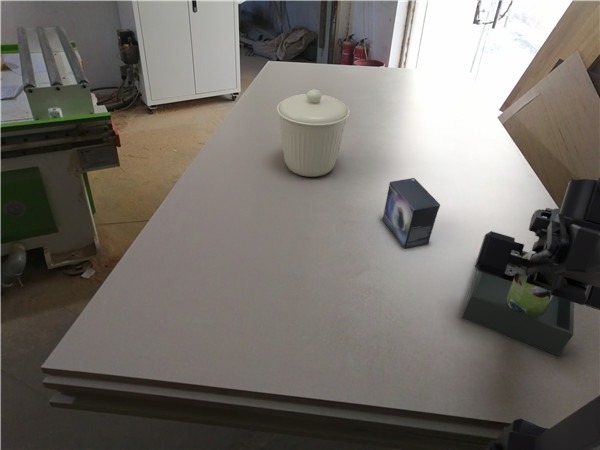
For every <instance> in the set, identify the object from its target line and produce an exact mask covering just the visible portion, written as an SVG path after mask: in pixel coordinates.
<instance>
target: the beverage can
mask: <svg viewBox="0 0 600 450" xmlns="http://www.w3.org/2000/svg"><path fill="white" fill-rule="evenodd" d="M527 252H528V253H527V254H525V255H524V256H523V257H522V258H525V259H528V260H529V259H530V257H531V254H533V253H534V254H535V252H534V251H532V249H531V250H530V251H527ZM518 267H519V268H520V267H521V269H522V268H524V270H525V269H527V268H526V267H523V266H518ZM527 277H528V276H524V275H521V274H518V273H516V274H515V277H514V280H513V282H512V285H511V288H510V291H509V293H508V296H507V304H508V306H509V307H510V308H511V309H514V310H516V311H519V312H521V313H524V314H527V315H529V316H532V317H535V318H538V317H541V316H542V315H543V314H544V313H545V311H546V309H547V307H548V305H549V303H550V301H551V299H552V297H553V296H552V295H551V294H550V292H551V291H550V290H546V289H543V288H540V287H537V286H534V285H531V284H528V283H526V280H527Z"/></svg>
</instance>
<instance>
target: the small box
mask: <svg viewBox="0 0 600 450" xmlns="http://www.w3.org/2000/svg"><path fill="white" fill-rule="evenodd" d="M387 190H388V191H387V195H386V200H385V205H384V210H383V215H382V222H384V224H385V225H386V227H387V228H388V229H389V231H390V232H391V233H392V234H393V236H394V237H395V238H396V240H397V241H398V243H399V244H400V245H401V247H402V248H403V249H409V248H414V247H419V246H424V245H430V244H429V243H430V239H431V236H432V232H433V229H434V226H435V223H436V219H437V215H438V213H439V210H440V207H441V203H440V202H439V201H438V200H437V199H435V198H434V196H432V194H431V193H429V191H428V190H427V189H426V187H424V186H423V185H422V183H420V182H419V181H418V180H417V179H416V178H415V177H411V178H405V179H404V178H403V179H399V180H392V181H389V184H388V189H387Z"/></svg>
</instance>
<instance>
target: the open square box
mask: <svg viewBox="0 0 600 450" xmlns="http://www.w3.org/2000/svg"><path fill="white" fill-rule="evenodd" d="M528 252H529V251H525V250H523V251H522V254H521V256H522V257H523V256H524V255H525V254H527V253H528ZM522 257H521V258H522ZM474 273H475V274H474V276H473V280H472V283H471V287H470V289H469V293H468V296H467V299H466V303H465V306H464V309H463V312H462V315H461V318H462V319H466V320H467V321H470V322H472V323H475V324H477V325H480V326H482V327H484V328H487V329H489V330H491V331H495V332H497V333H500V334H502V335H505V336H507V337H510V338H512V339H514V340H517V341H519V342H521V343H524V344H526V345H529V346H532V347H534V348H537V349H539V350H542V351H544V352H546V353H549V354H552V355H554V356H556V357H559V355H560V354H561V353H562V351H563V350H564V348H565V347H566V345H567V344H568V343H569V341H570V340H571V339H572V338H573V336H574V321H575V303H574V302H571V301H568V300H565V299H562V298H558V297H555V296H553V297H552V299H551V301H550V303H549V305H548V307H547V309H546V311H545V313H544V314H543V315H542V316H541V317H538V318H535V317H532V316H529V315H527V314H524V313H521V312H519V311H516V310H514V309H511V308H510V307H509V306H508V304H507V296H508V293H509V291H510V288H511V285H512V281H508V280H505V279H502V278H499V277H496V276H492V275H489V274H486V273H483V272H480V271H477V269H476V270H475V272H474ZM514 277H515V276H514ZM513 280H514V279H513Z"/></svg>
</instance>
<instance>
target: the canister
mask: <svg viewBox="0 0 600 450" xmlns="http://www.w3.org/2000/svg"><path fill="white" fill-rule="evenodd" d="M276 113H277V114H278V116H279V124H280V134H281V144H282V150H283V157H284V163H285V165H286V166H287V168H288V169H289V170H290V171H291V172H292V173H294V174H296V175H299V176H302V177H307V178H308V177H310V178H315V177H320V176H321V177H322V176H325V175H326V174H328V173H330V172H331V171H332V170H333V169H334V167H335V166H336V163H337V160H338V155H339V152H340V149H341V145H342V140H343V135H344V130H345V126H346V122H347V120H348V118H349V117H350V115H351V110H350V108H349V106H348V105H347V104H345V103H344V102H343V101H341V100H340V99H337V98H336V97H333V96H330V95H326V94H322V93H321V91H320V90H318V89H310V90H309V91H307V93H299V94H295V95H291V96H289V97H287V98H285V99H283V100H281V101H280V102H279V103H278V104H277V105H276Z"/></svg>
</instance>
